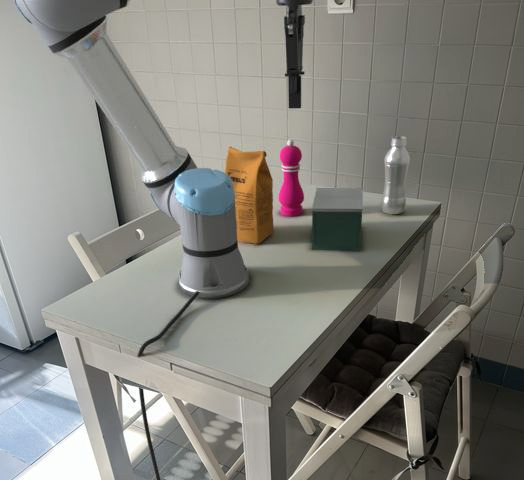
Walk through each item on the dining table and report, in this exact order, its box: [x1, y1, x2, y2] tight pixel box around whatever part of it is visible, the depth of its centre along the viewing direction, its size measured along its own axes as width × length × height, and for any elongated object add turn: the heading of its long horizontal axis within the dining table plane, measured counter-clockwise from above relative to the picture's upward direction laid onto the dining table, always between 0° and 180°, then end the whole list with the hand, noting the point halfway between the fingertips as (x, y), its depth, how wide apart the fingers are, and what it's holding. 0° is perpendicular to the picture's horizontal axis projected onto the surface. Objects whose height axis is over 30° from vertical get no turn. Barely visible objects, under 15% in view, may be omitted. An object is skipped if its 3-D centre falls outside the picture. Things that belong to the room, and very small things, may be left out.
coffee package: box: [223, 146, 275, 245], centre depth 133 cm, size 10×12×22 cm
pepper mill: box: [278, 139, 305, 217], centre depth 146 cm, size 7×7×20 cm
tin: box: [311, 210, 363, 251], centre depth 132 cm, size 15×12×10 cm
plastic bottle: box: [380, 135, 411, 215], centre depth 143 cm, size 6×7×20 cm
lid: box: [311, 187, 364, 213], centre depth 129 cm, size 15×12×1 cm
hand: (294, 107), depth 121 cm, fingers closed
